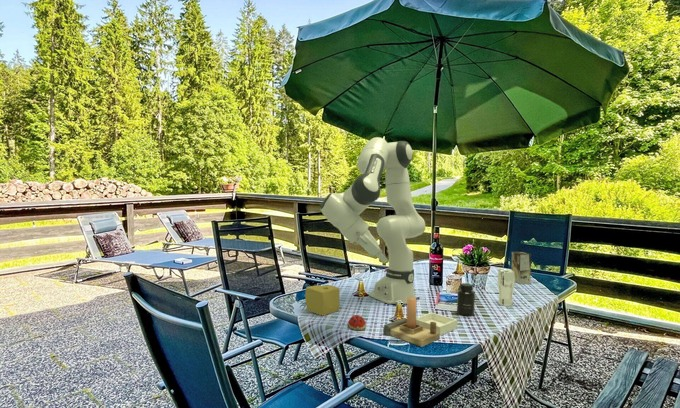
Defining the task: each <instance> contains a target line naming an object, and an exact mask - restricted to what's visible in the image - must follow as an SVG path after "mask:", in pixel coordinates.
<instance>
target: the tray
mask: <svg viewBox="0 0 680 408" xmlns="http://www.w3.org/2000/svg"><path fill="white" fill-rule="evenodd" d="M430 322H436V332H438V333H439V337H441V336H443V335H444V334H445V335H446V334H447V333H449V332H451V331H452V332H453V331H454V330H456V329H458V319H456V318H452V317H449V316H445V315H441V314H438V313H435V312H432V311H431V312H429V313H427V314H423V315H420V316H416V324H418V325H421V326H423V328H425V329H429V330H430Z"/></svg>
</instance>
